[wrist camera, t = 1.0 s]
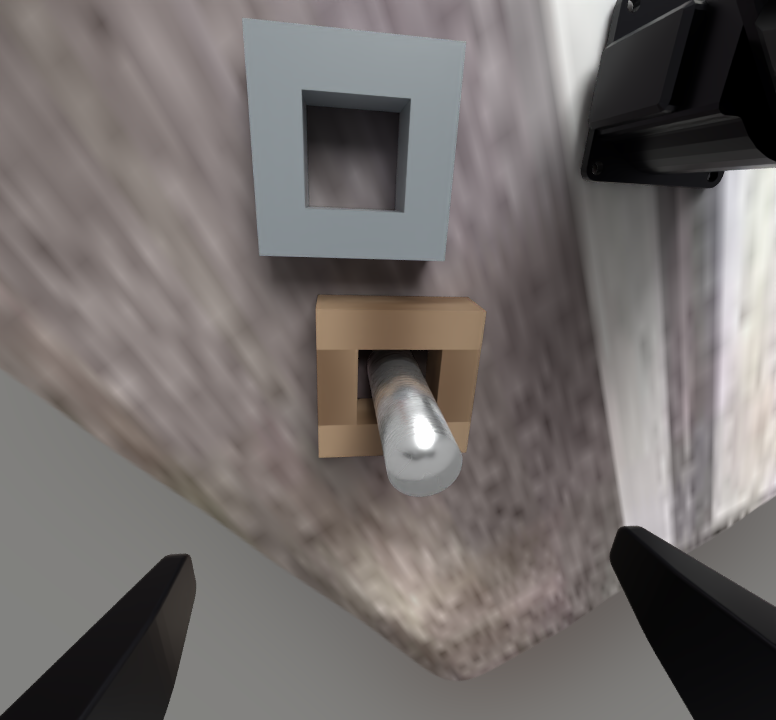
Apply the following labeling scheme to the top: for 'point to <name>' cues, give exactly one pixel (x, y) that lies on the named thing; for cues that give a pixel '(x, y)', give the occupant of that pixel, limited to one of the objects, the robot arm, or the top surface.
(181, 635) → the robot arm
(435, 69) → the gray square ring
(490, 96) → the top surface
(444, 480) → the silver metal rod
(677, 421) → the top surface
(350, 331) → the socket block
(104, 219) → the top surface
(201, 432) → the top surface
